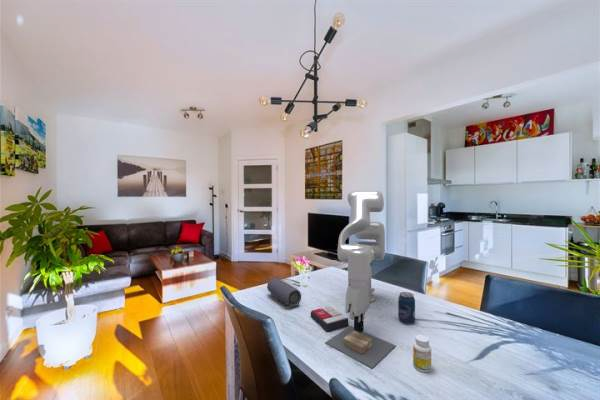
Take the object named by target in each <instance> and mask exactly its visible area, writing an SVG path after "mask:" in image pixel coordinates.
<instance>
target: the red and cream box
mask: <svg viewBox="0 0 600 400" xmlns="http://www.w3.org/2000/svg"><path fill="white" fill-rule="evenodd" d="M310 318H311V319H312V320H313V321H314V322H315V323H317V325H319V326H320V327H321V328H322V329H323V330H324V331H325V332H326V333H331V332H334V331H339V330H341V329H346V328H348V327H349V326H350V325H349V323H350V322H349V317H347V316H346V315H344V314H342V313H341V312H340V311H338V310H337V309H336V308H334V307H332V306H331V305H330V306H325V307H321V308H316V309H312V310H311V311H310Z"/></svg>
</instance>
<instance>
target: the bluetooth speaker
mask: <svg viewBox="0 0 600 400" xmlns="http://www.w3.org/2000/svg"><path fill="white" fill-rule="evenodd" d="M266 288H267V290H268V292H270V294H272V295H273V297H275V298H277V300H278V301H279V302H281V303H282V304H284V305H287V306H290V307H295V306H298V305H299V304H300V302H301V301H302V293H301V292H300V291H299V290H298V289H297V288H296V287H294V286H293V285H292V284H289V283H288V282H286V281H284V280H281V279H279V278H277V277H272V278H270V280H269V281H268V282H267V284H266Z"/></svg>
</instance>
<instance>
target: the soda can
mask: <svg viewBox="0 0 600 400" xmlns="http://www.w3.org/2000/svg"><path fill="white" fill-rule="evenodd" d="M397 299H398V300H397V302H398V304H397V309H398V311H397V313H398V314H397V317H398V319H399V321H400V322H401V323H403V324H405V325H413V324H414V323H415V322H416V299H415V297H414V294H413V293H411V292H407V291H401V292H399V295H398V297H397Z"/></svg>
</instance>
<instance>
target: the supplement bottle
mask: <svg viewBox="0 0 600 400" xmlns="http://www.w3.org/2000/svg"><path fill="white" fill-rule="evenodd" d="M414 340H415V341H414V342H413V344H412V347H413V348H412V350H413V353H412V354H413V355H412V357H413V359H412V360H413V364H412V365H413V366H414V368H415V369H416V370H417V371H420V372H422V373H430V372H431V371H432V347H431V345H430V339H429V337H427V336H426V335H424V334H423V335H422V334H417V335H415V339H414Z"/></svg>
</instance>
